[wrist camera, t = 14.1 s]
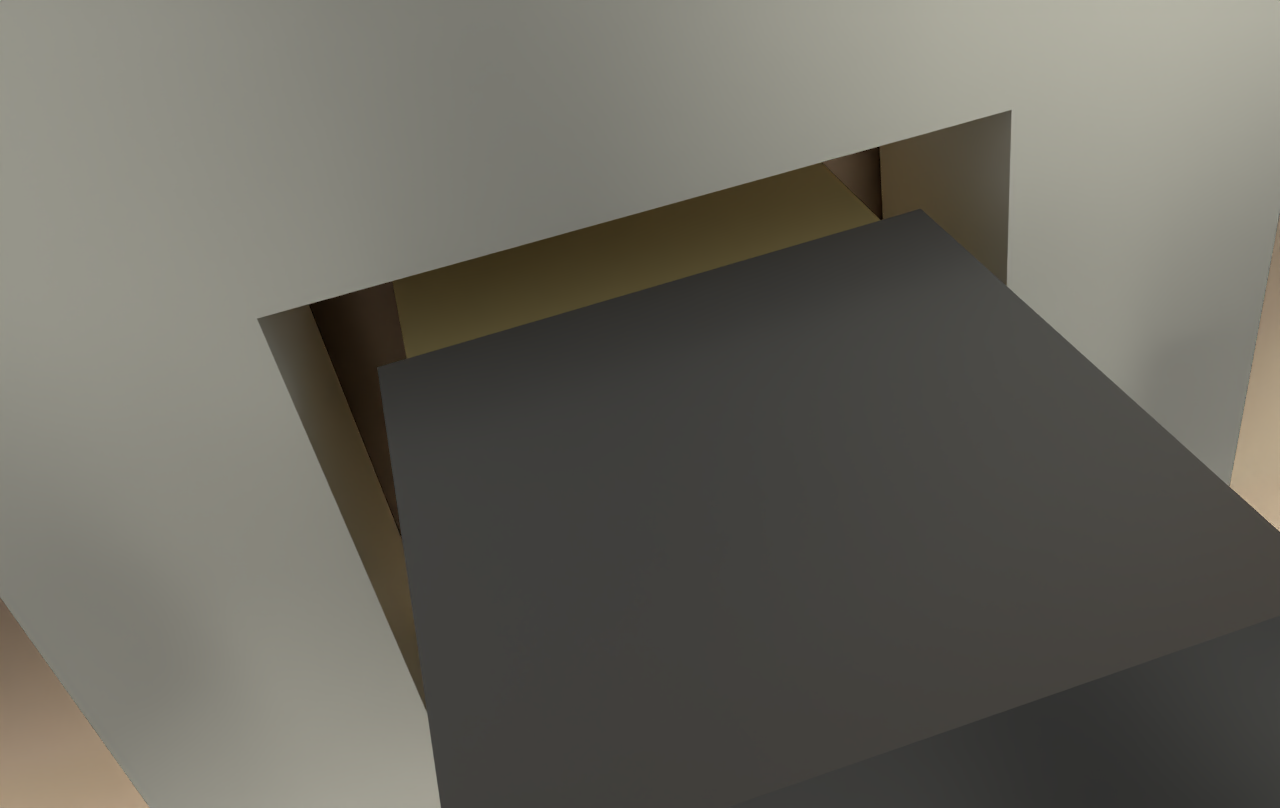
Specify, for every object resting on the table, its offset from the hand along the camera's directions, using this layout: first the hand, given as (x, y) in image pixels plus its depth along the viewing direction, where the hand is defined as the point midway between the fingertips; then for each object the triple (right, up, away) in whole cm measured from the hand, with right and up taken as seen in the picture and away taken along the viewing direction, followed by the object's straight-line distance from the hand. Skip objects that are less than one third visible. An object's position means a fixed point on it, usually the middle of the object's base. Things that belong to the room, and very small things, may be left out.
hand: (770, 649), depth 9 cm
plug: (-1, +2, +4) cm, 4 cm away
